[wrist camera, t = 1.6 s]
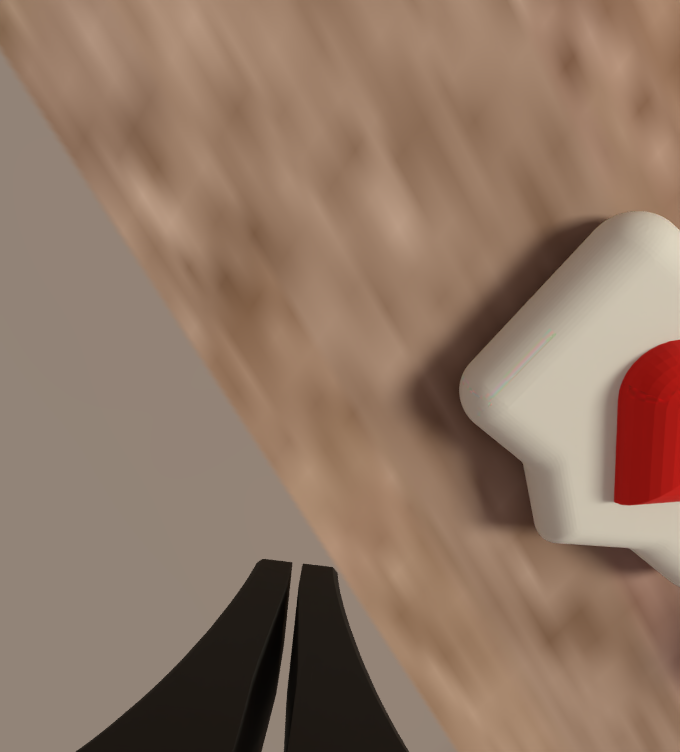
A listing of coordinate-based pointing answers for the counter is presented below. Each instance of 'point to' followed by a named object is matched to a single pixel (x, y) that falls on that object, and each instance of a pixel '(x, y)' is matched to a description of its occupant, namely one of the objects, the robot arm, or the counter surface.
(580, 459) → the icon
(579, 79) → the counter surface
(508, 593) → the counter surface
